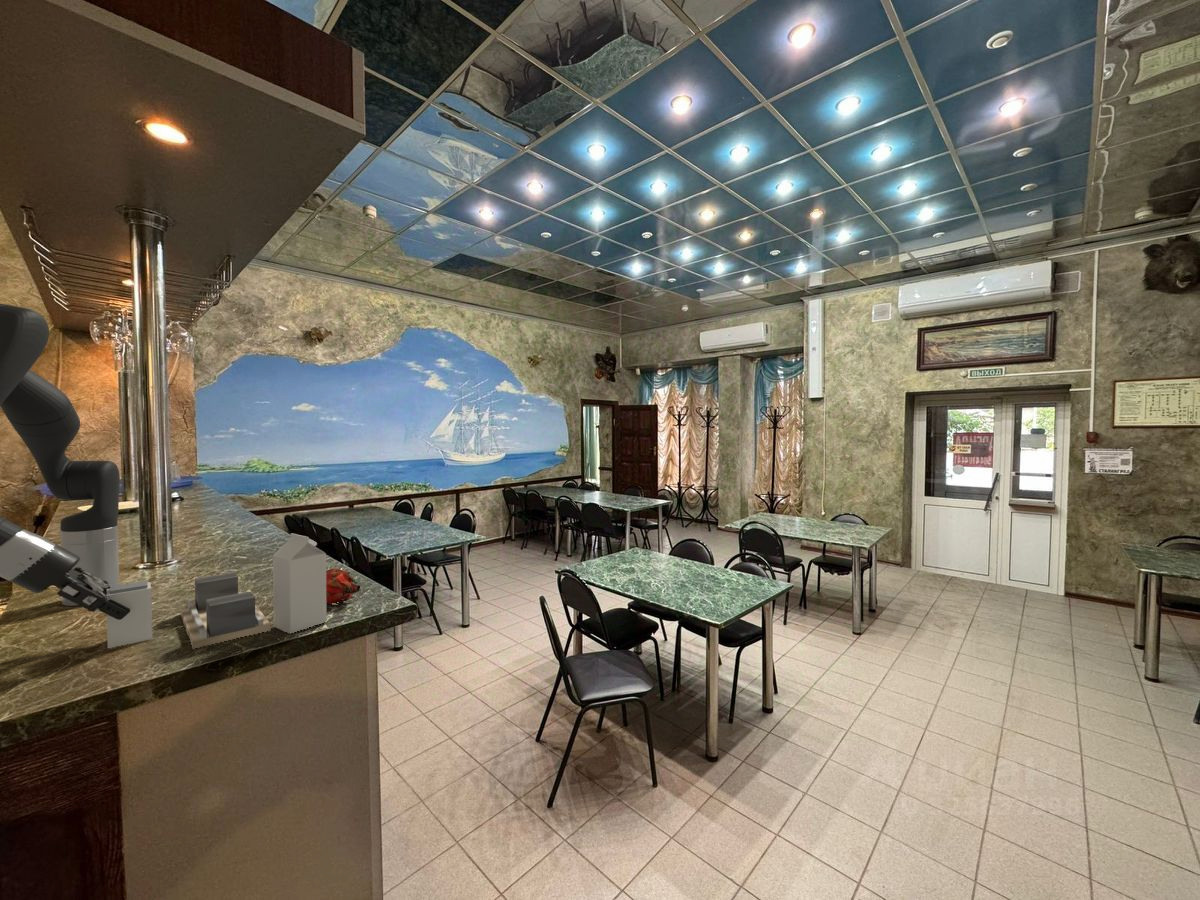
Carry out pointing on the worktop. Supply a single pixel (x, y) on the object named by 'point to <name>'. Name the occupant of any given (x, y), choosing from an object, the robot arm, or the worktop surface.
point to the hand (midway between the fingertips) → (125, 609)
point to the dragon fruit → (339, 585)
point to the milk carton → (299, 585)
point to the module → (131, 614)
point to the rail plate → (221, 612)
